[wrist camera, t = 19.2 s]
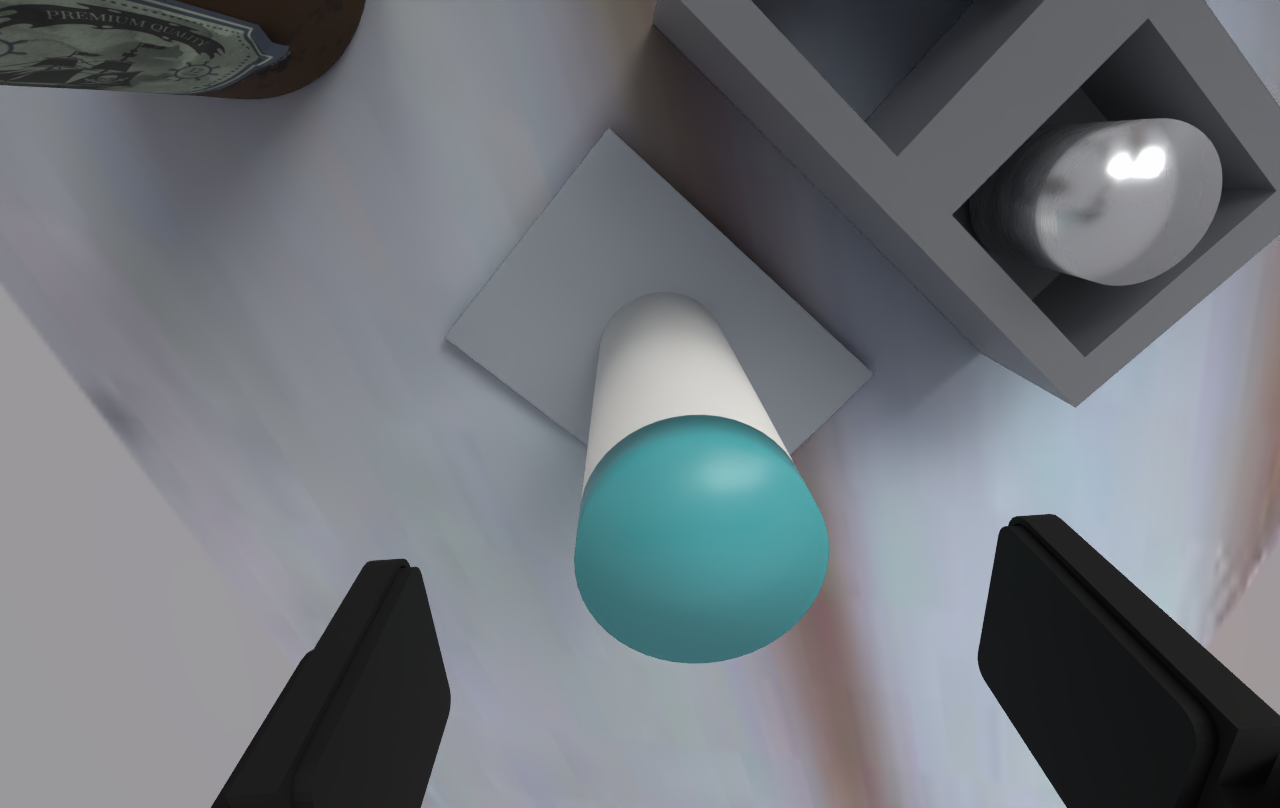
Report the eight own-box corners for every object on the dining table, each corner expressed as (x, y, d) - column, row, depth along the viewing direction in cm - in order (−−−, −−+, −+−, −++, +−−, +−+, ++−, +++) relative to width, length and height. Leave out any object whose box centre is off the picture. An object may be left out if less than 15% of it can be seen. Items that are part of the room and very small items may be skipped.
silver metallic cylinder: (943, 201, 23) (1025, 214, 18) (1047, 95, 21) (1164, 79, 17) (1020, 283, 24) (1117, 316, 19) (1123, 187, 22) (1253, 197, 18)
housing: (652, 23, 22) (660, -20, 17) (847, -232, 20) (934, -383, 14) (981, 353, 27) (1075, 407, 21) (1173, 178, 24) (1335, 186, 19)
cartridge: (593, 296, 25) (560, 458, 12) (723, 287, 25) (834, 438, 12) (604, 417, 27) (587, 671, 14) (726, 408, 27) (824, 654, 14)
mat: (448, 333, 26) (444, 337, 25) (609, 128, 23) (608, 127, 23) (703, 528, 29) (705, 536, 29) (869, 369, 27) (874, 374, 26)
